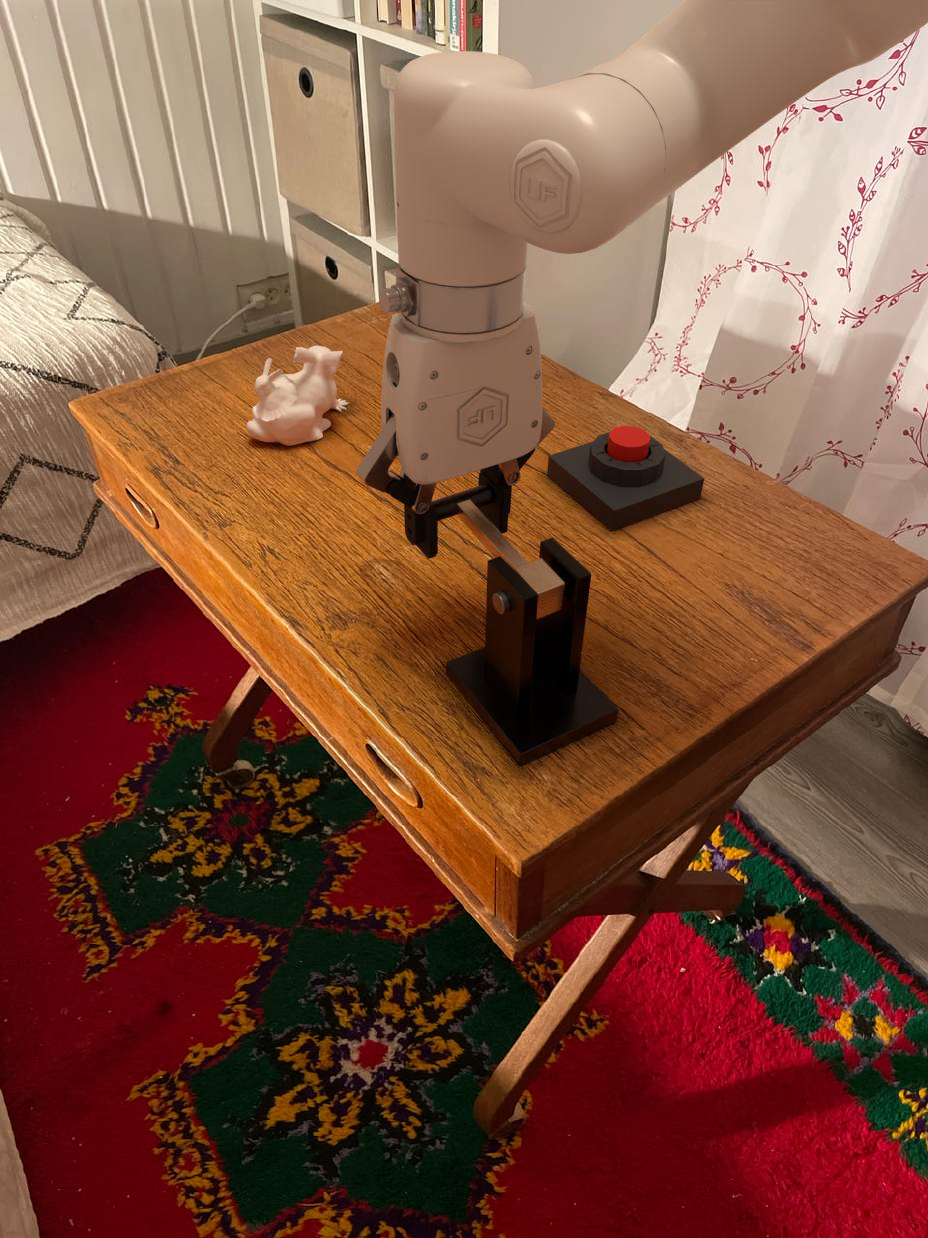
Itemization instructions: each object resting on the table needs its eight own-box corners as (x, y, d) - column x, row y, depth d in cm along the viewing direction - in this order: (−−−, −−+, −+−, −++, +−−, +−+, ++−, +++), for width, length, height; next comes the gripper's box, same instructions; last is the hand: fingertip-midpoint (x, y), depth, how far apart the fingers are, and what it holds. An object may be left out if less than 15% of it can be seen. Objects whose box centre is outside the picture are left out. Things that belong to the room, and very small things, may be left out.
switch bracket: (445, 673, 70) (444, 544, 62) (537, 636, 73) (547, 508, 66) (520, 766, 64) (529, 634, 56) (617, 721, 67) (639, 590, 59)
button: (630, 438, 88) (633, 421, 87) (655, 457, 86) (658, 440, 85) (598, 449, 87) (601, 432, 86) (623, 468, 84) (625, 450, 83)
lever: (423, 520, 68) (423, 493, 67) (483, 500, 70) (485, 473, 69) (514, 628, 61) (518, 601, 59) (579, 603, 63) (584, 575, 61)
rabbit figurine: (344, 399, 100) (337, 310, 94) (382, 431, 96) (377, 339, 89) (237, 433, 95) (222, 340, 89) (272, 468, 90) (258, 373, 84)
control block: (632, 447, 94) (637, 410, 91) (700, 498, 87) (708, 460, 85) (546, 475, 90) (549, 438, 87) (611, 531, 83) (616, 492, 81)
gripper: (360, 348, 52) (375, 602, 64) (614, 287, 59) (584, 528, 71) (304, 297, 57) (328, 542, 69) (545, 245, 64) (528, 478, 76)
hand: (458, 533), depth 70 cm, fingers closed on lever, 5 cm apart
